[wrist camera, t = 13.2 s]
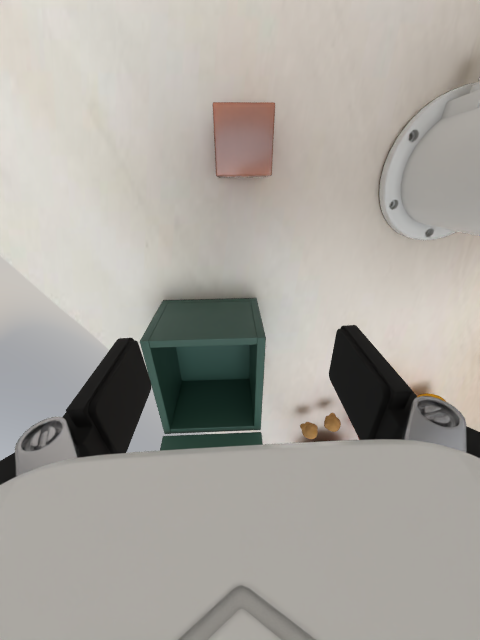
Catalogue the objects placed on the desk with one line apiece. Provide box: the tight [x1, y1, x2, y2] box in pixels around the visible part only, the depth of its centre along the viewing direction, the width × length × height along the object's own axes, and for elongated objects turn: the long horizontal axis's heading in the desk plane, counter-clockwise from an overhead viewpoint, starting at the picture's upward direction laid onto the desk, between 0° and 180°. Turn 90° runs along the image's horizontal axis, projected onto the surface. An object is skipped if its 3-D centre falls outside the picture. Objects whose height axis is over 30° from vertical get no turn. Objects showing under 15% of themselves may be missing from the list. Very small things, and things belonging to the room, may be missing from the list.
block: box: [213, 102, 275, 177], centre depth 20 cm, size 4×4×4 cm
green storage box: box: [140, 298, 266, 434], centre depth 29 cm, size 14×12×9 cm
